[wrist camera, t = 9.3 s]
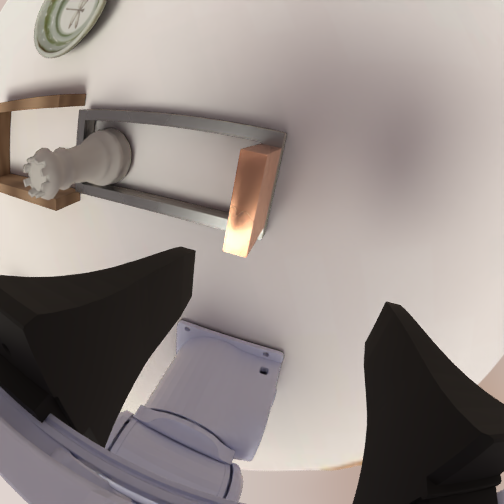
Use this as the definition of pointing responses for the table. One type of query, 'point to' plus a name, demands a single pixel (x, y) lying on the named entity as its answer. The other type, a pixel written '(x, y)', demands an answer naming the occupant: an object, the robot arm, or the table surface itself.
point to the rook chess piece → (79, 164)
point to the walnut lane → (3, 178)
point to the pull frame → (234, 223)
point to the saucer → (64, 24)
